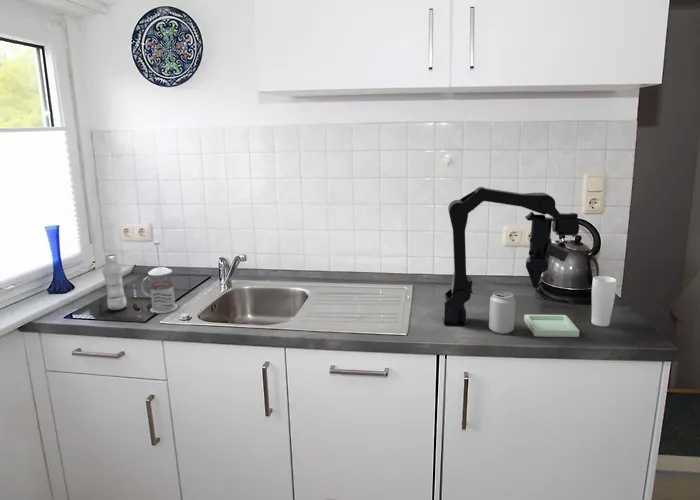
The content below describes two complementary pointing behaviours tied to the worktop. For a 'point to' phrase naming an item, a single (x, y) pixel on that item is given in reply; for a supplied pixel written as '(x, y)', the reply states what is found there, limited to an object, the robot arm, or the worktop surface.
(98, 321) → the worktop surface
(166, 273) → the french press
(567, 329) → the tray
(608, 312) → the drinking glass
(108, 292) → the plastic bottle
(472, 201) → the robot arm
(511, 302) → the can
